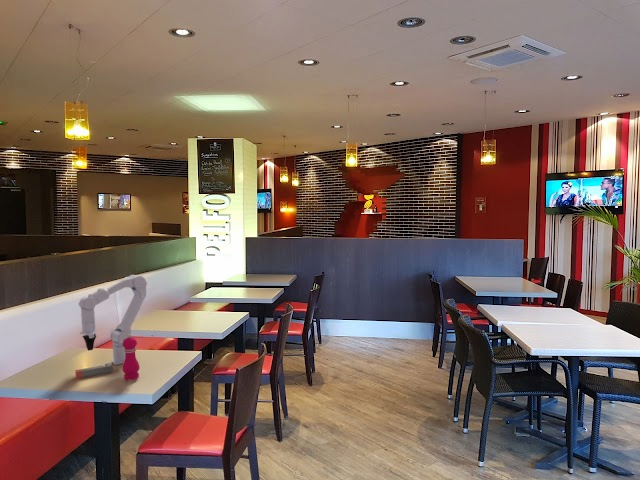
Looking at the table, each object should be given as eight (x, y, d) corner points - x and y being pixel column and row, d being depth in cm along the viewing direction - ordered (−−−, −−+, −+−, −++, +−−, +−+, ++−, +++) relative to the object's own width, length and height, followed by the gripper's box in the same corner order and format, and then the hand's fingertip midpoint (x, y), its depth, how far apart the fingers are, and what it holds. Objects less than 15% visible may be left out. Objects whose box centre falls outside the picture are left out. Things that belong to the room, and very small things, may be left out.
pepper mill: (143, 375, 224) (141, 332, 222) (132, 381, 217) (130, 336, 216) (130, 374, 226) (128, 331, 225) (119, 379, 219) (117, 335, 218)
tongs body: (111, 369, 233) (111, 362, 233) (113, 372, 229) (113, 365, 229) (75, 376, 225) (74, 369, 225) (76, 379, 221) (76, 372, 221)
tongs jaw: (103, 371, 231) (102, 365, 230) (103, 372, 229) (103, 366, 229) (75, 376, 224) (75, 370, 224) (75, 377, 223) (75, 371, 223)
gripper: (77, 320, 238) (78, 348, 239) (81, 326, 226) (83, 355, 227) (92, 318, 242) (94, 345, 243) (97, 323, 230) (99, 352, 231)
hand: (90, 349), depth 235 cm, fingers closed
